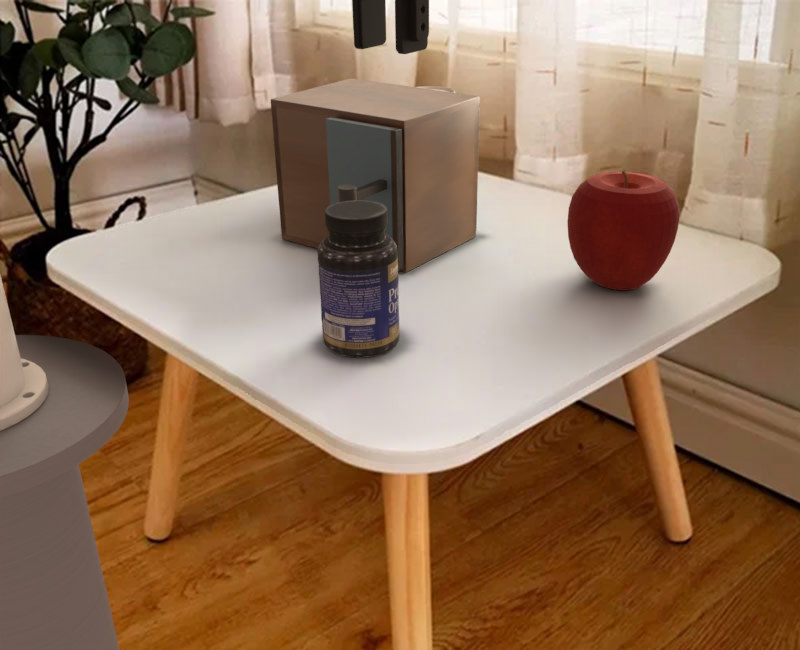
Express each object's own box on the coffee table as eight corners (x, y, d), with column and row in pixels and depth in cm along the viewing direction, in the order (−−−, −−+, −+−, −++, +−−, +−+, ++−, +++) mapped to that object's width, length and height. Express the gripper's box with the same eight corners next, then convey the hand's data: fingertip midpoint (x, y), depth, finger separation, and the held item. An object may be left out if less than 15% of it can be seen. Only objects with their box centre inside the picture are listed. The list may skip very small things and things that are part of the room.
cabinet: (406, 272, 88) (404, 120, 81) (281, 239, 97) (270, 99, 90) (476, 236, 96) (480, 96, 89) (355, 208, 105) (350, 78, 98)
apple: (692, 293, 83) (708, 182, 78) (596, 311, 80) (608, 196, 75) (632, 257, 91) (644, 154, 86) (543, 272, 88) (550, 165, 83)
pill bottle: (406, 355, 73) (405, 218, 68) (329, 364, 72) (321, 226, 67) (390, 323, 78) (387, 193, 73) (318, 330, 77) (309, 200, 72)
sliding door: (358, 290, 83) (352, 145, 77) (291, 271, 87) (281, 131, 81) (403, 267, 88) (401, 128, 81) (338, 250, 92) (331, 116, 85)
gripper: (256, -237, 64) (277, 46, 73) (456, -257, 56) (452, 67, 65) (328, -231, 69) (340, 33, 79) (521, -248, 61) (509, 51, 70)
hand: (390, 46), depth 71 cm, fingers open, 3 cm apart
